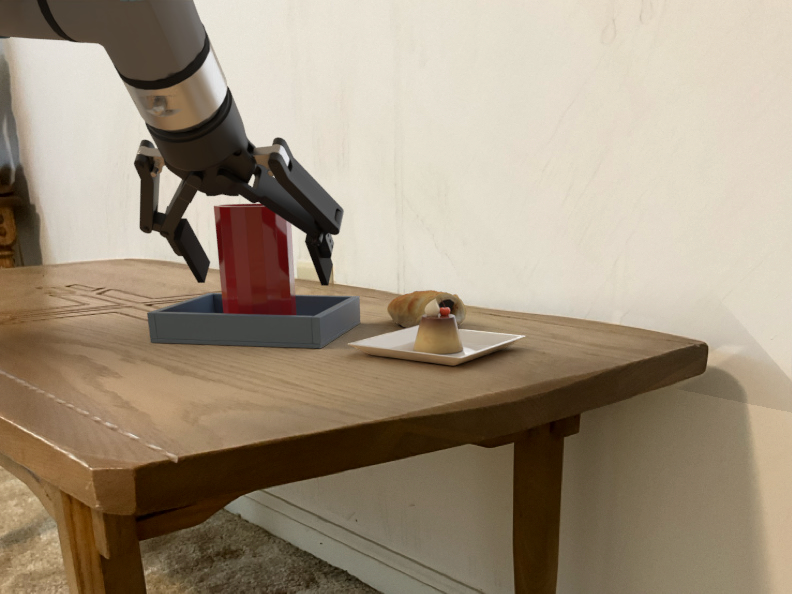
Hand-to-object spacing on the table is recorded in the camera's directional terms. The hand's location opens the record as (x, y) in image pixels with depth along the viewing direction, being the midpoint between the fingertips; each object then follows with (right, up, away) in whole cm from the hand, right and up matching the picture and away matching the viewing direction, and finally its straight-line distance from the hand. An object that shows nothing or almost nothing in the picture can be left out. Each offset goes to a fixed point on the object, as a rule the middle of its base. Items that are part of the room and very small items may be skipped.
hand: (264, 273), depth 88 cm
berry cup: (0, -6, 0) cm, 6 cm away
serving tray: (0, -6, 0) cm, 6 cm away
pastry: (+17, -5, +3) cm, 18 cm away
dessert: (+18, -11, -10) cm, 23 cm away
